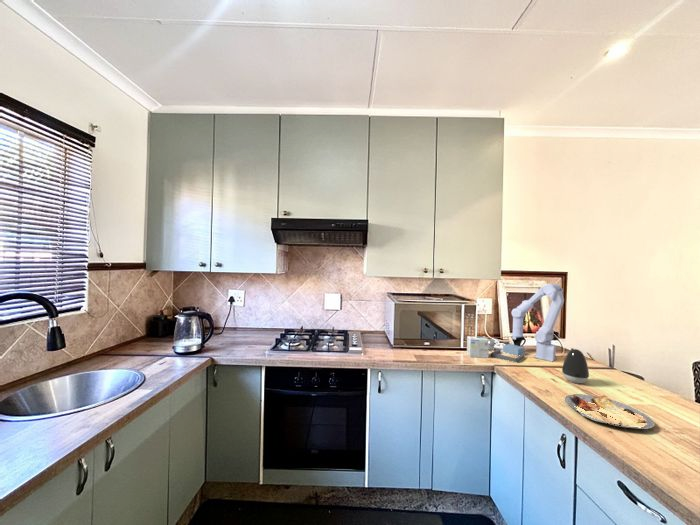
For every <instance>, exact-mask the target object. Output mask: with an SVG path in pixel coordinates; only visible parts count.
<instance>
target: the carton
mask: <svg viewBox="0 0 700 525" xmlns="http://www.w3.org/2000/svg"><path fill="white" fill-rule="evenodd" d="M525 350H526V348H525V346H524V347H523V346H521V345H520V346H517V345H514V343H513V344H512V343H507V344H504V345H502V353H503V352H505V354H507V353H509V354H508V355H511V354H513V355H512V356H515V355H516V356H515V357H519V355H521V354H524V355H525Z"/></svg>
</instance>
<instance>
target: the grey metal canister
mask: <svg viewBox="0 0 700 525" xmlns="http://www.w3.org/2000/svg"><path fill="white" fill-rule="evenodd" d="M488 339H489V350H488V351H492V350H493V348H494V349H495V347H494V346H495V342H496V340H495V339H492V338H488ZM493 351H494V350H493Z"/></svg>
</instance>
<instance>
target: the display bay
mask: <svg viewBox="0 0 700 525" xmlns="http://www.w3.org/2000/svg"><path fill="white" fill-rule="evenodd" d="M500 353H501V348H500V349H499V348H497V349H496V350H493V351H492V352H491V353H490V357H491V358H495V359H499V358H500V359H499V360H503V359H504V361H508V360H509V361H508V362H512V361H513V362H512V363H516V362H517V364H518V363H520V362H521V361H522V360H523V358H524V359H525V353H524V354H521V355H520V356H516V357H512V356H507V355H503V354H500ZM519 361H520V362H519Z"/></svg>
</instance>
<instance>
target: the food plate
mask: <svg viewBox="0 0 700 525" xmlns="http://www.w3.org/2000/svg"><path fill="white" fill-rule="evenodd" d="M564 402H565V403H566V404H567V405H569V406H570V407H571V409H574V410H575V412H577V410H576V409H577V408H576V407H577V406H578V407H580V408H582V409H584V410H585V411H596V410H599V409H600V407H601V408H603V409H605V410H607V411H609V412H611V413H613V414H616V413H614V412H616V411H617V412H620V411H627V412H628V413H631V414H633V415H635V414H634V413H637V414H639V415H641V416H643V418H645V419H646V421H645V420H640V419H638V420H636V421H634V422H635V423H647V425H645V426H644V427H641V428H638V427H626V426H627V425H624V424H620V425H621V426H619V425H614V424H612V423H611V424H610V423H608V424H607V423H606V421H604V420H601V419H598V418H595V419H594V417H593V418H591V417H592V416H591V417H589V416H590V415H589V416H587V415H588V414H587V415H586V414H584V413H581V412H582V411H581V412H579V411H578V412H577V413H579V414H580V415H582V416H583V417H586V418H588V419H590V420H592V421H595V422H599V423H603V424H607V425H612V426H616V427H621V428H626V429H627V428H630V429H635V430H636V429H637V430H638V429H640V430H641V429H642V430H643V429H644V430H649V429H651V428H653V427H655V422H654V421H653V419H652V418H650V416H648V415H647V414H645V413H644V412H642V411H641V410H638V409H637V408H634V407H632V406H630V405H628V404H625V403H622V402H620V401H616V400H612V399H610V398H608V396H606V395H604V394H603V395H601V396H597V395H590V394H584V393H583V394H581V393H580V394H578V393H576V394H575V393H574V394H569V395H566V396H565V398H564ZM588 402H591V403H595V404H596V405H595V404H591V403H588ZM574 406H576V407H574ZM619 407H622V408H624V410H621V409H620V408H619ZM612 411H614V412H612ZM597 412H599V411H597ZM599 413H600V414H601V415H602V416H604V417H606V418H607V414H605V413H602V412H599ZM617 414H619V413H617ZM620 415H621V414H620ZM610 417H611V416H610ZM612 418H613V417H612ZM615 420H616V419H615ZM603 421H604V422H603ZM623 425H624V426H623Z"/></svg>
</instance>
